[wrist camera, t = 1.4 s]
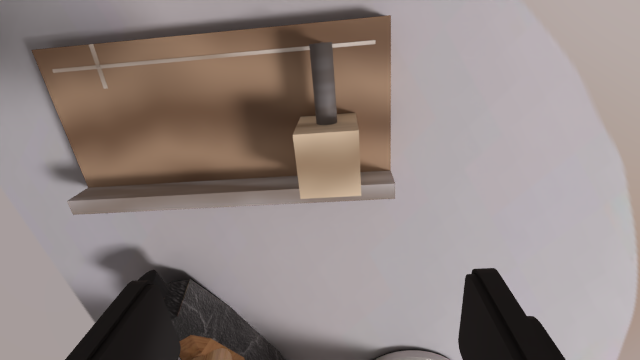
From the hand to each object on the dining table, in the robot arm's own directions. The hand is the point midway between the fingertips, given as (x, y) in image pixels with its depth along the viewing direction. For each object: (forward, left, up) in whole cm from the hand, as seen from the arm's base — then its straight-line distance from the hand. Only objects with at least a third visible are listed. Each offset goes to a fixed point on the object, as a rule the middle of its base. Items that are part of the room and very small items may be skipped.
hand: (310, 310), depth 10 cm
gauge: (+2, 0, -16) cm, 16 cm away
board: (+2, +8, -18) cm, 20 cm away
